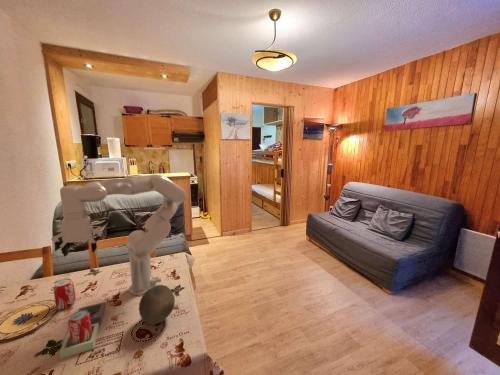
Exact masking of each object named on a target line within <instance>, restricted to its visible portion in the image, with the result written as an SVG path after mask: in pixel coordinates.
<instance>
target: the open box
mask: <svg viewBox="0 0 500 375" xmlns="http://www.w3.org/2000/svg"><path fill="white" fill-rule="evenodd" d="M105 303H106V302H99V303H95V304H92V305H87V306H83V307H78V310H77V311H80V310H87V311H88V312H89V314H91V313H95V312H98V313H97V315H96V316H95V315H94V316H90V321H91V329H92V336H91V339H90V341H87V342H83V343H80V344H76V345H73V346H72V345H71V338H70V331H69V330H68V332H67V334H66V337H65V339H64V341H63V343H62V346H61V348H60V350H59V356H60V360H62V359H65V358H67V357H71V356H74V355H78V354H80V353H85V352H87V351H91V350H93V349H94V348H95V345H96V341H97V338H98V334H99V330H100V328H101V324H102V321H103V318H104V313H105V310H106V305H105Z"/></svg>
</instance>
